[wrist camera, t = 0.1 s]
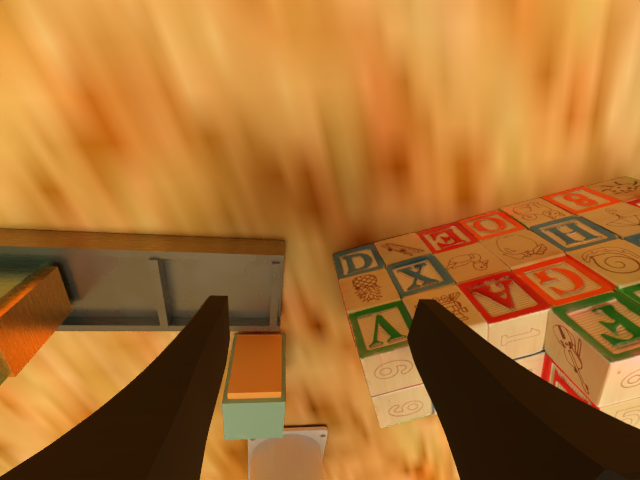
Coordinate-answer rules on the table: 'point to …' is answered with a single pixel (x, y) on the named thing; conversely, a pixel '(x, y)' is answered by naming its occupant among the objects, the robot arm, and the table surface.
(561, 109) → the table surface
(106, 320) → the rail
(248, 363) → the toy block
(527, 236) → the stack of blocks
